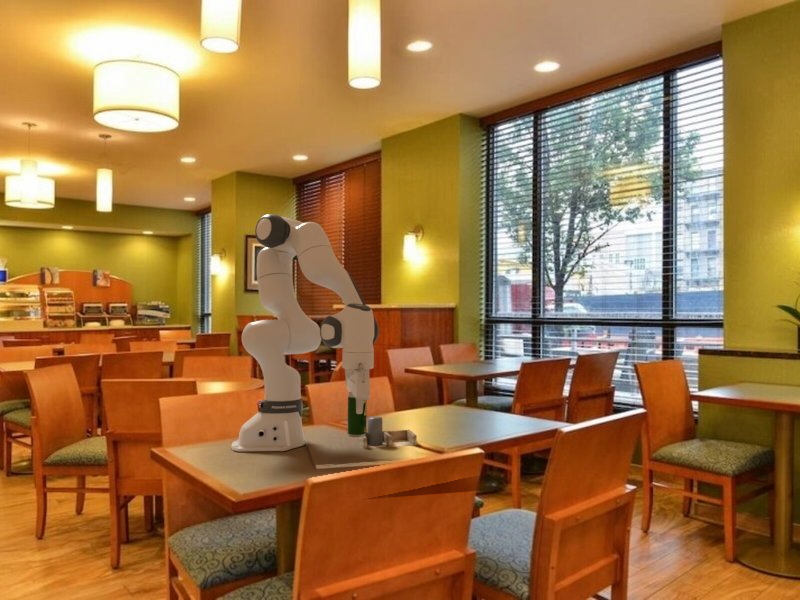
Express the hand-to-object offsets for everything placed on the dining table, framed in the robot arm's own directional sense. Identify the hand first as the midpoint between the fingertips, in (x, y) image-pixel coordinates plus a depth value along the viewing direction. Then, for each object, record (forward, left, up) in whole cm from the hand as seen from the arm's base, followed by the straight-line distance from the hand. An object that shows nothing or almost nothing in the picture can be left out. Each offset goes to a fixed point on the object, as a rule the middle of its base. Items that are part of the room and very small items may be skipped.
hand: (357, 411), depth 167 cm
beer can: (0, 0, -7) cm, 7 cm away
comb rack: (+11, +13, -13) cm, 22 cm away
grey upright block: (+8, +13, -12) cm, 20 cm away
